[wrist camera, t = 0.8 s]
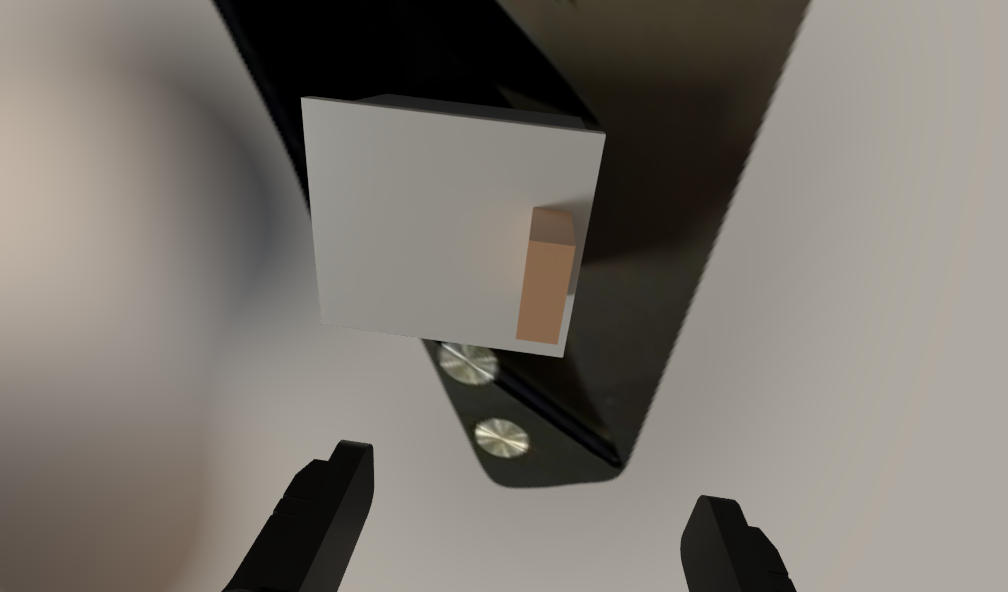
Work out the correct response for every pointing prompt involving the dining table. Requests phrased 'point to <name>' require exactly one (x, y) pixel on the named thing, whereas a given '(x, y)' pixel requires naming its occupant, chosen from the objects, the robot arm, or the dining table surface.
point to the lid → (448, 222)
